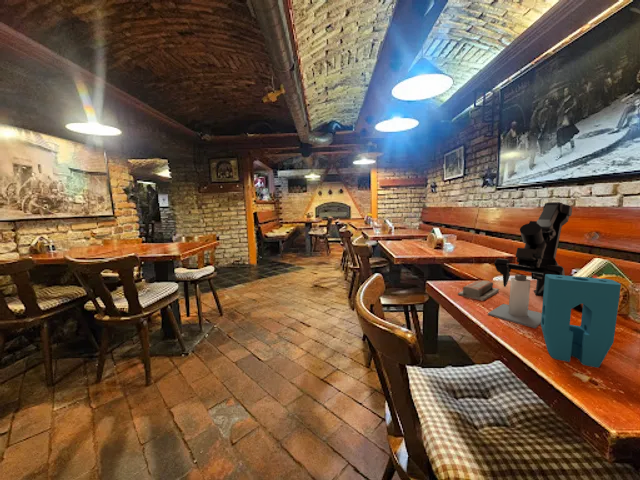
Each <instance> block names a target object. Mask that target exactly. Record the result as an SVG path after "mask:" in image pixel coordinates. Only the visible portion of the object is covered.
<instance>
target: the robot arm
mask: <svg viewBox="0 0 640 480" xmlns="http://www.w3.org/2000/svg"><path fill="white" fill-rule="evenodd" d="M542 206H543V207H542V212H541V213H540V215H539V217H538V219H537V220H533V221H532V220H529V223H526V224H524V225H522V226H520V227H519V233H520V236H521V239H522V242H523V244H524V247H517V249H516V253H515V258H516V261H515V262H516V263H511V262H510V259H506V258H500V257H499V258H496V259H495V261H494V262H493V264H494V267H495V269H496V271H497V272H499V273H500V274H501V275H502V283H503V288H505V287H507V285H508V282H509V281H510V280H509V279H510V276H511V271H512V270H514V271H515V270H516V271H520V272H525V273H531V274H530V275H531V279H532V280H535V281H536V284H535V287H536V288H535V289H533V293H534V294H535V295H536V296H541V297H543V294H544V283H545V274H552V275H564V276H566V275H565V268H564V267H563V266H562V265H559V263H558V262H557V260H556V257H557V252H558V246H559V242H560V237H561V232H562V228H563V226H564V225H566V224H567V223H568V222H569V220H570V217H572V215H573V214H572V213H573V207H572V206H571V205H569V204H565V203H562V202H560V201H557V202H556V201H553V202H552V201H551V202H550V201H549V202H545V203H544V205H542ZM517 263H518V264H517Z"/></svg>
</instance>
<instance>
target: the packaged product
mask: <svg viewBox="0 0 640 480" xmlns="http://www.w3.org/2000/svg"><path fill="white" fill-rule="evenodd" d="M493 286H494V282H492V281H490V280H476V281H473V282H471V283H469V284H467V285H464V286H463V288H462V290H461V291H459V292H458V293H457V295H458V296H460V297H461V296H462V297H465V298H468V299H472V300H473V299H474V300H478V301H480V302H481V301H486V300H488V299H489V298H491V297H492V296H494V295H496V294H497V293H499V290H500V289H499V288H495V287H493Z"/></svg>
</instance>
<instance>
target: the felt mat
mask: <svg viewBox="0 0 640 480" xmlns="http://www.w3.org/2000/svg"><path fill="white" fill-rule="evenodd" d="M508 311H509V304H506V303H503V304H500V305H499V306H497V307H496V308H494V309H492V310H491V311H489V312H487V315H488V316H491V317H494V318H498V319H501V320H504V321H508V322H511V323H514V324H518V325H522V326H525V327H529V328H532V329H537V328H538V327H539V326H541V316H542V312H539V311H534V310H530V309H528V316H527V317H518V316H514V315H511V314H509V312H508Z"/></svg>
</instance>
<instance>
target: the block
mask: <svg viewBox="0 0 640 480" xmlns="http://www.w3.org/2000/svg"><path fill="white" fill-rule="evenodd" d="M621 287H622V283H619V282H618V281H615V280H614V279H607V278H602V277H601V278H597V277H587V276H573V275H565V276H564V275H552V274H545V283H544V294H543V296H542V305H541V307H542V309H541V313H542V316H541V324H540V327H541V331H542V335H543V339H544V343H545V347H546V350H547V353H548V354H549V356H550V357H551V358H552V359H554V360H557V361H558V360H559V361H561V362H562V361H563V362H568V363H571V359H572V358H571V357H573V358H576V359H577V360H578V361H579V362H580V364H582V365H583V366H588V367H592V368H600V367H601V365H602V363H603V362H604V360H605V358H606V356H607V354H608V353H609V351H610V350H611V347H612V346H613V344H614V341H615V335H616V327H617V318H618V311H619V302H620V295H621V294H620V293H621ZM579 305H582V310H581V321H580V325H574V324H571V317H572V316H571V315H572V309H574V308H576V307H577V306H579Z"/></svg>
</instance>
